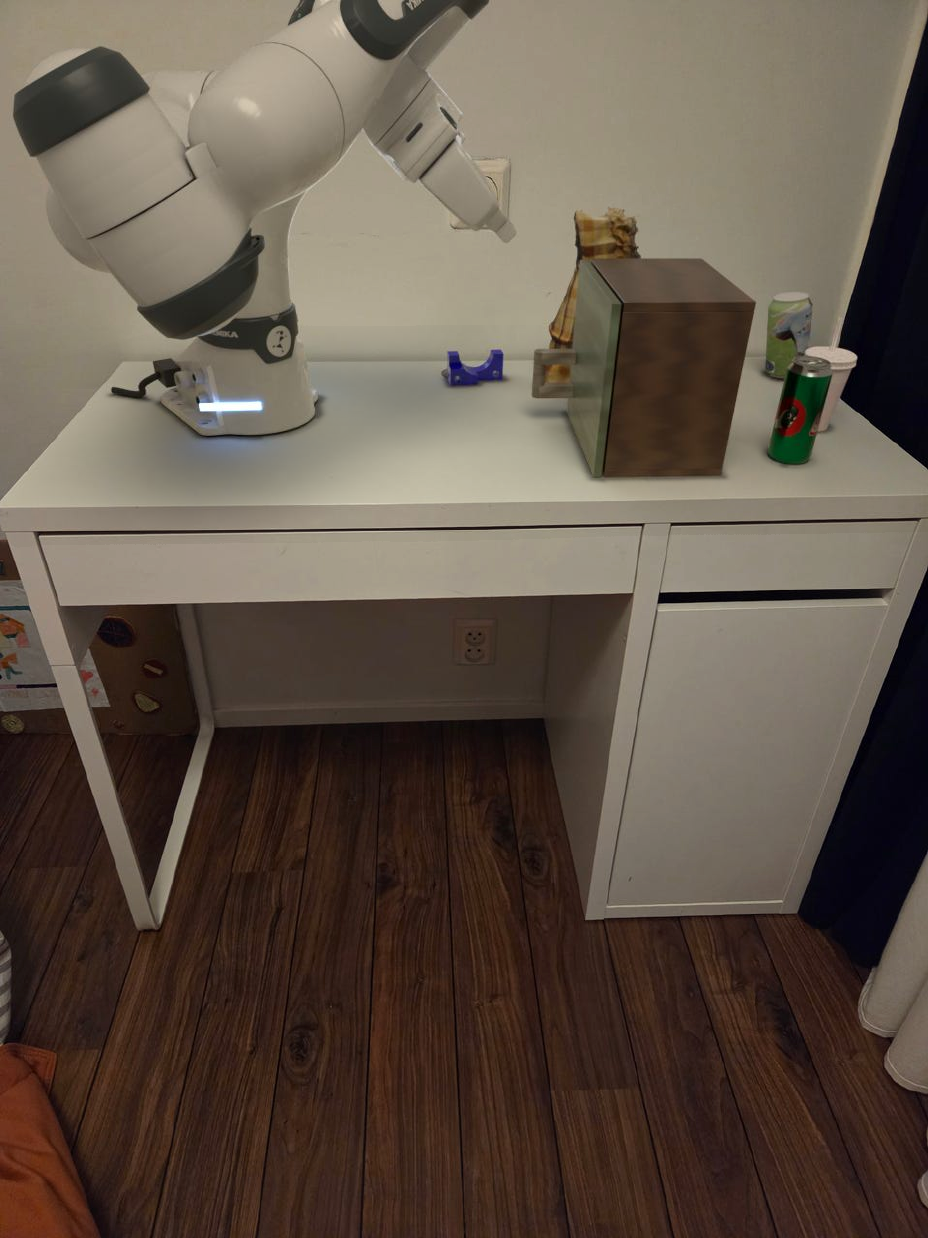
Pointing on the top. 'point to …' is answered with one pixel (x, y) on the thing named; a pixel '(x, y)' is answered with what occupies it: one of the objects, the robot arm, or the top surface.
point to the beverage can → (787, 331)
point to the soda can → (800, 409)
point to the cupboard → (673, 366)
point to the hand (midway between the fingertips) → (510, 235)
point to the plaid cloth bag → (592, 241)
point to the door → (586, 365)
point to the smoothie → (834, 373)
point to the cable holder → (474, 369)
